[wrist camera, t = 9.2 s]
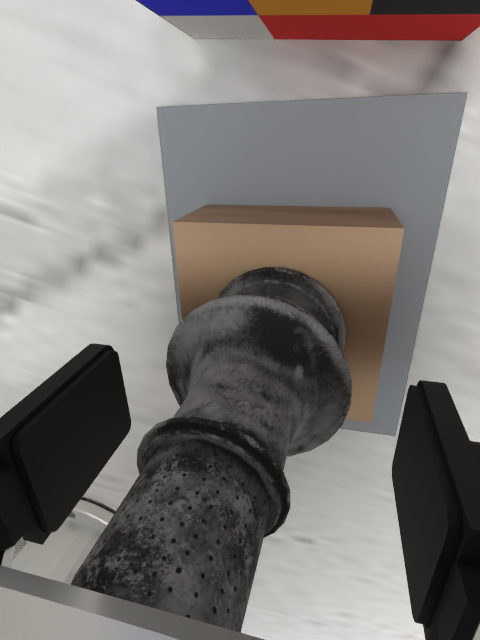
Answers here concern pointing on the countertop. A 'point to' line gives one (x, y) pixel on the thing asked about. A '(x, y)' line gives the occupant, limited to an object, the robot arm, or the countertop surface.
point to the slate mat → (327, 184)
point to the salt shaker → (226, 447)
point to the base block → (302, 268)
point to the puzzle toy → (321, 19)
